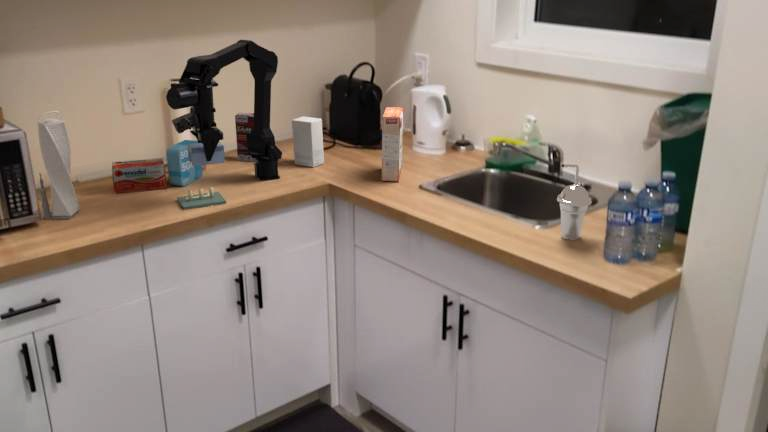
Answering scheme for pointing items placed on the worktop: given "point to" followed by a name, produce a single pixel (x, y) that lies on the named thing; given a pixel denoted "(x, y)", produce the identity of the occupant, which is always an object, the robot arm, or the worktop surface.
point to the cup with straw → (573, 207)
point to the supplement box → (243, 135)
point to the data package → (181, 164)
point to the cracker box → (392, 143)
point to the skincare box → (308, 141)
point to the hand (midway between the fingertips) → (206, 158)
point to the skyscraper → (57, 169)
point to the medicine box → (138, 175)
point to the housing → (198, 154)
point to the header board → (201, 199)
